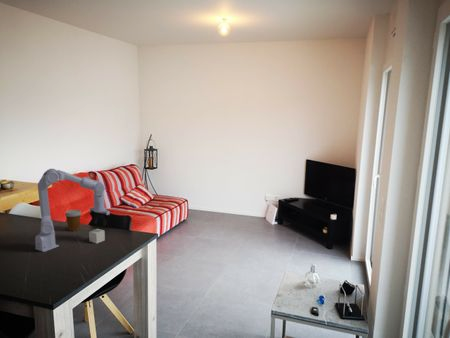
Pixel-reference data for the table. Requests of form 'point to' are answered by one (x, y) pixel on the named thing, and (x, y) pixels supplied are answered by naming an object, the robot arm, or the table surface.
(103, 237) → the pale grey cube
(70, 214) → the disposable coffee cup
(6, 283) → the table surface
